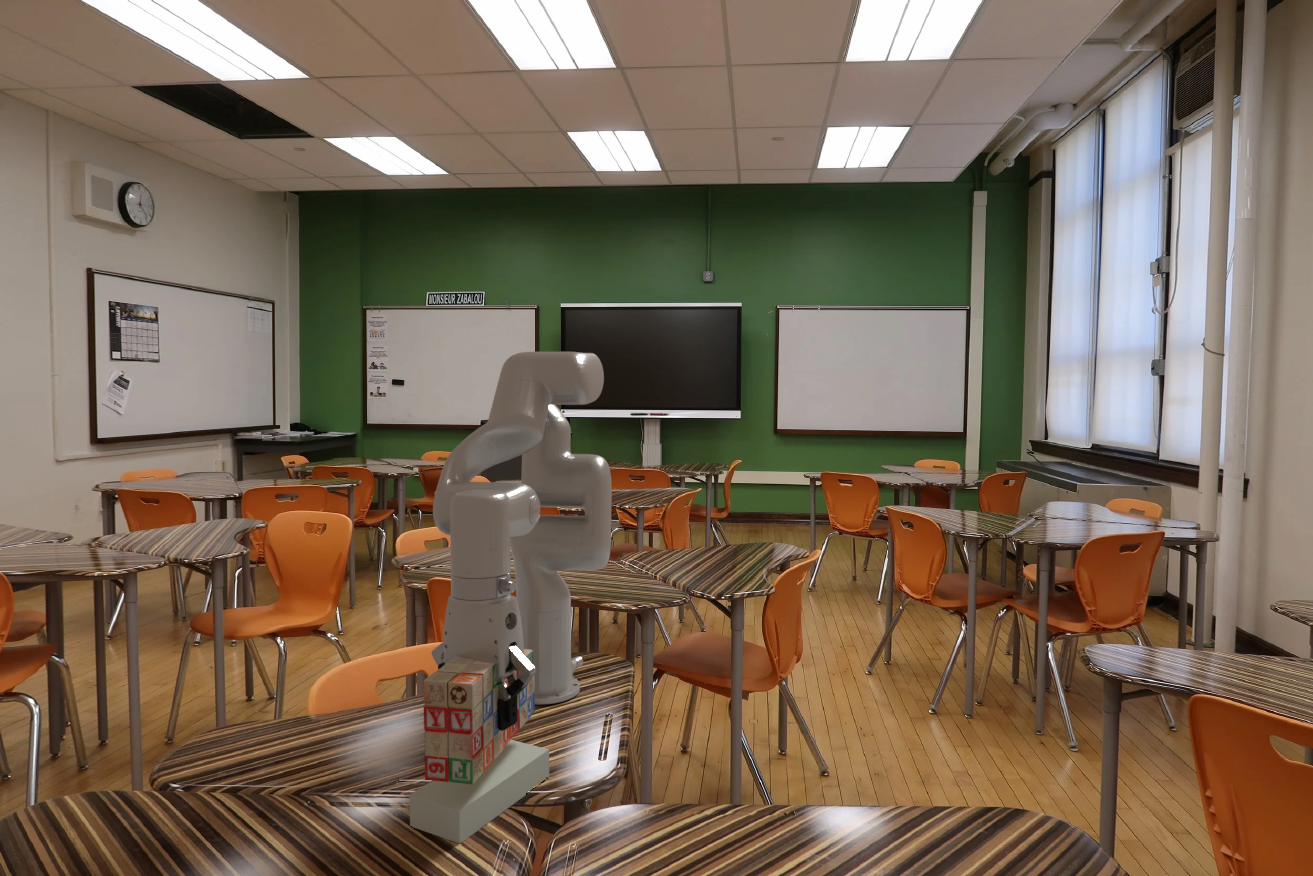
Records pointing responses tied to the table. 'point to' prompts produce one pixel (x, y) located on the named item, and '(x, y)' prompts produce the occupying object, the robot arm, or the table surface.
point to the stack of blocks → (467, 719)
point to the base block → (479, 793)
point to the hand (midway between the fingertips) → (482, 719)
